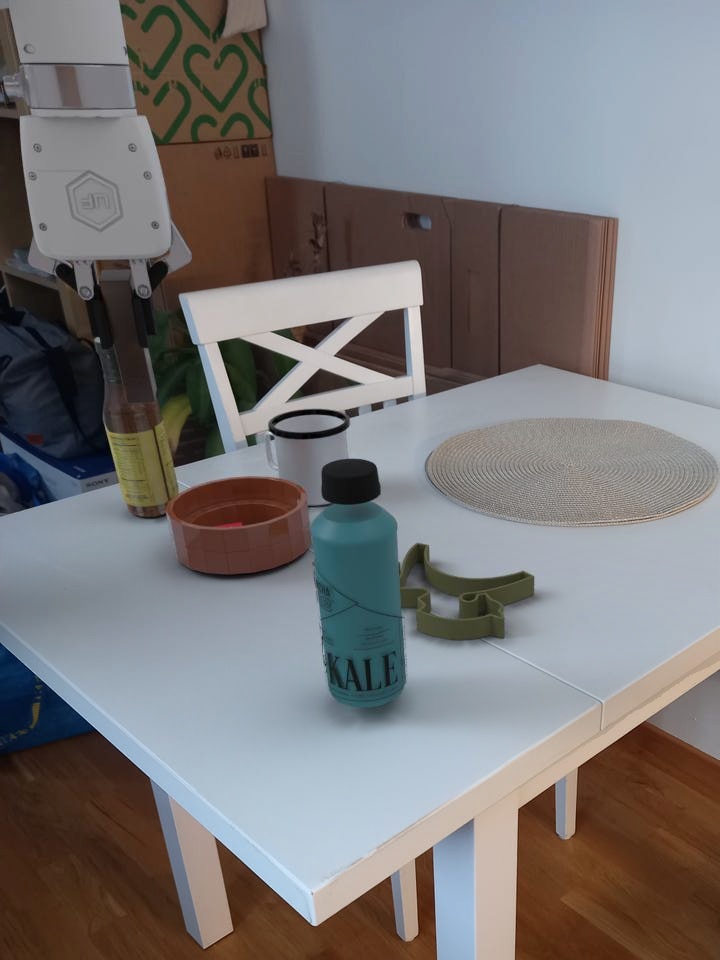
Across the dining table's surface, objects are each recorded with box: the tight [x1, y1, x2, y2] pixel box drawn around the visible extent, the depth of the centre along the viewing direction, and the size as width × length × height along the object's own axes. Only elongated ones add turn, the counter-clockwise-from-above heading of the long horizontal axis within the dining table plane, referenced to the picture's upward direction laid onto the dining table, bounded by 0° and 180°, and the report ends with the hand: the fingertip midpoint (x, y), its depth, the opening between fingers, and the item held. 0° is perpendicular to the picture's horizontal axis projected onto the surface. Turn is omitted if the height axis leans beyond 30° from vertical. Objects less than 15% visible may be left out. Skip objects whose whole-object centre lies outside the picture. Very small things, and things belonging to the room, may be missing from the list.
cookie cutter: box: [399, 542, 535, 641], centre depth 88 cm, size 18×12×2 cm, turn 56°
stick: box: [98, 268, 158, 403], centre depth 80 cm, size 2×2×11 cm
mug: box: [263, 408, 351, 507], centre depth 110 cm, size 12×9×9 cm
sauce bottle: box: [93, 337, 180, 518], centre depth 103 cm, size 6×6×20 cm
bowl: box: [165, 475, 313, 575], centre depth 97 cm, size 14×14×6 cm
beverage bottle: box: [310, 458, 408, 708], centre depth 69 cm, size 6×7×20 cm
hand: (127, 343), depth 79 cm, fingers closed on stick, 2 cm apart
